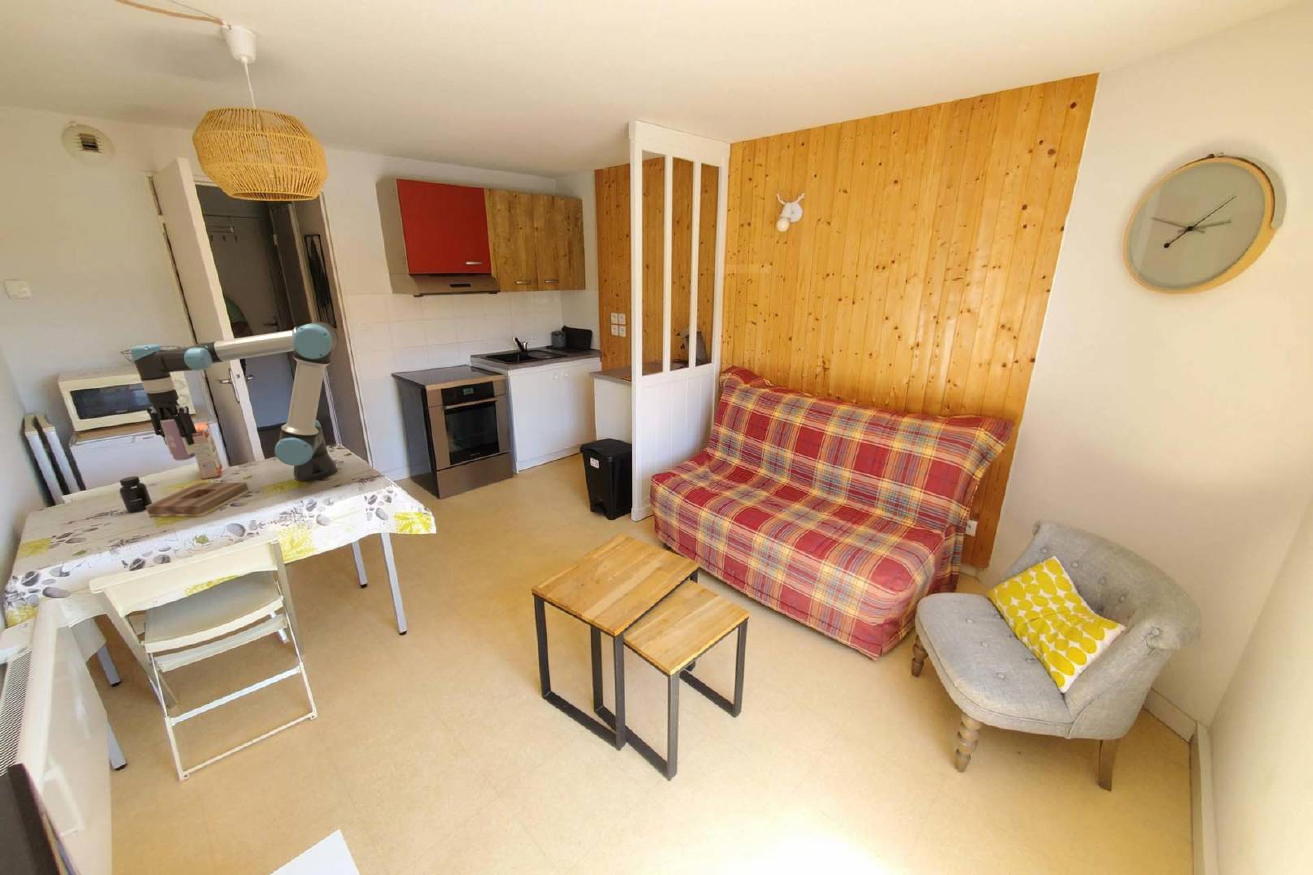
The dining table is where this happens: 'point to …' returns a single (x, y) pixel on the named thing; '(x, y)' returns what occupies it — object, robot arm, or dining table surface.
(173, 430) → the beverage can
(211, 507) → the socket block
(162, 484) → the dining table surface
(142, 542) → the dining table surface
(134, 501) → the supplement bottle
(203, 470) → the cracker box
